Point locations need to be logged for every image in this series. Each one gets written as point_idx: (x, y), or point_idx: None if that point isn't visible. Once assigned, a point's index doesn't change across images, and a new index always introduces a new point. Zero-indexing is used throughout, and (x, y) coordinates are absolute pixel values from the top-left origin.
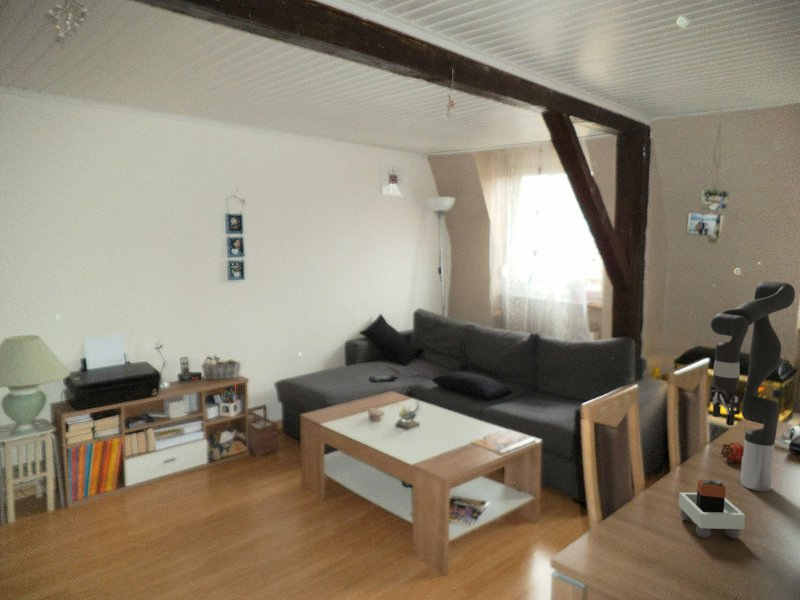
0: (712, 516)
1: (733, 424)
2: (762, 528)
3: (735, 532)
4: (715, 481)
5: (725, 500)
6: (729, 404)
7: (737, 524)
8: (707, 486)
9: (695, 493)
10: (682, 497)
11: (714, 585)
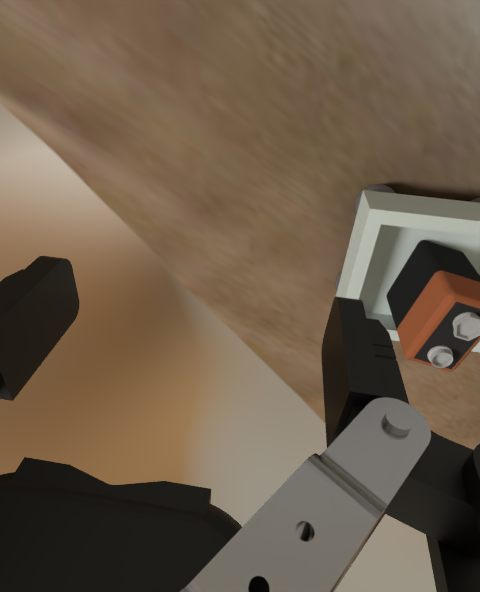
0: None
1: (360, 304)
2: (464, 53)
3: None
4: (470, 339)
5: (429, 226)
6: (210, 495)
7: None
8: (463, 358)
9: (353, 292)
10: None
11: None
